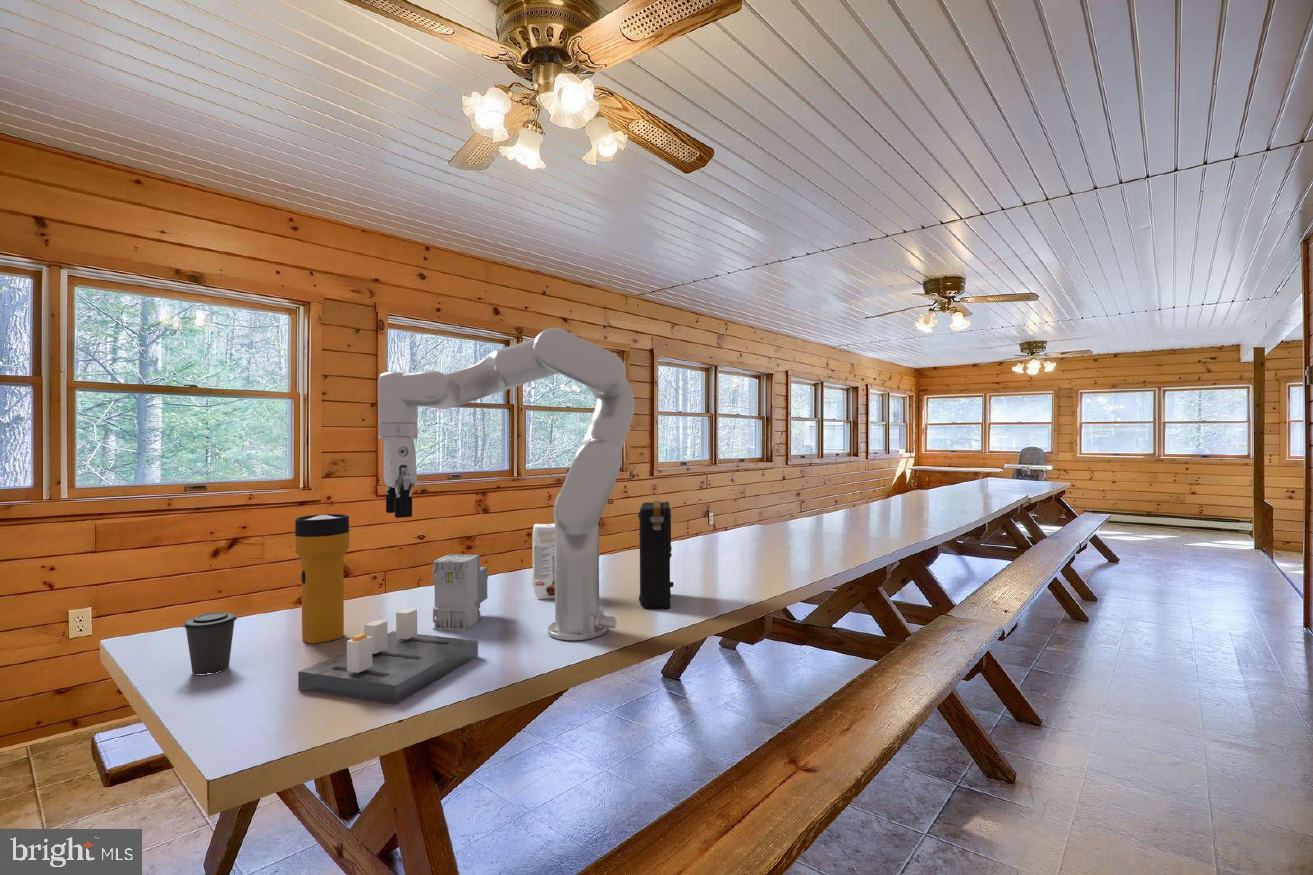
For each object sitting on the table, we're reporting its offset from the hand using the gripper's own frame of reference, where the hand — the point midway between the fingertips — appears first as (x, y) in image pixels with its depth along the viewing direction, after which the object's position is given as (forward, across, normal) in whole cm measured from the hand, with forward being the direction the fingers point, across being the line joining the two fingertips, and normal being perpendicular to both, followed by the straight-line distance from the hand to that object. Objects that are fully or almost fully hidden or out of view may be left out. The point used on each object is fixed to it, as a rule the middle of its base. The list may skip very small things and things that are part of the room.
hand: (398, 514), depth 125 cm
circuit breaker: (+26, +7, -15) cm, 31 cm away
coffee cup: (+26, +3, +32) cm, 41 cm away
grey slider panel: (+26, -17, +4) cm, 32 cm away
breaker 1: (+23, -14, +7) cm, 28 cm away
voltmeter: (+26, -5, -61) cm, 66 cm away
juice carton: (+26, +16, -40) cm, 51 cm away
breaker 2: (+23, -9, 0) cm, 24 cm away
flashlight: (+26, +12, +13) cm, 32 cm away
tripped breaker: (+23, -22, +10) cm, 33 cm away
